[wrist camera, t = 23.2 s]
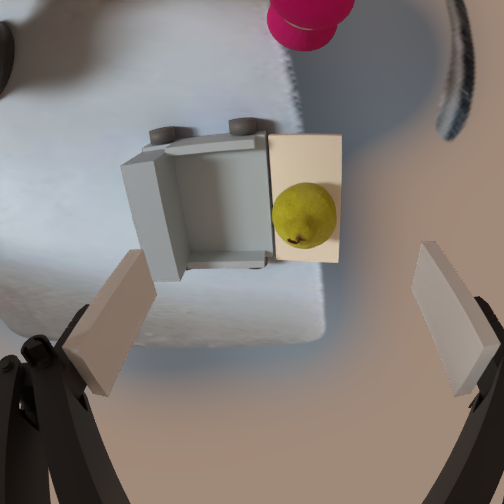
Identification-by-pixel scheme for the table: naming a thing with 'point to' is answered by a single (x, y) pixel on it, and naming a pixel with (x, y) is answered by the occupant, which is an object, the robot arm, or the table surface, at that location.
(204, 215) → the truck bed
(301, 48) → the pepper mill
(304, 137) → the panel
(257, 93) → the table surface
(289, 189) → the fruit
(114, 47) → the table surface
